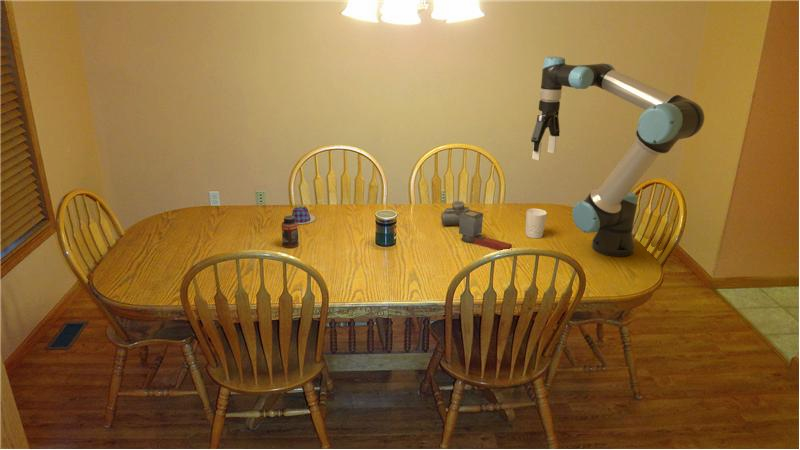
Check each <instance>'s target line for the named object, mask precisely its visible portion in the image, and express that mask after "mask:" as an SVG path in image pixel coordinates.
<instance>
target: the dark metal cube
mask: <svg viewBox="0 0 800 450" xmlns="http://www.w3.org/2000/svg"><path fill="white" fill-rule="evenodd" d="M483 220H484V213H483V212H479V211H476V210H471V209H469V210H467V211H465V212H463V213H461V214H460V223H459V224H458V225H459V226H458V234H460V235H462V234H463V235H466V236H470V237H475V236H477V235H481V234H482V232H483V222H484V221H483Z"/></svg>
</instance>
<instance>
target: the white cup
mask: <svg viewBox="0 0 800 450" xmlns="http://www.w3.org/2000/svg"><path fill="white" fill-rule="evenodd" d="M547 214H548V212H547V211H546V210H544V209H541V208H529V209H528V208H527V210H526V213H525V236H526V237H528V238H530V239H541V238H542V237H543V235H544V231H545V225H546V220H547V216H548V215H547Z"/></svg>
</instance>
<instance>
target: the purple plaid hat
mask: <svg viewBox="0 0 800 450" xmlns="http://www.w3.org/2000/svg"><path fill="white" fill-rule="evenodd" d="M291 216H294V217H295V221H296V222H297V223H298V225H304V224H309V223H312V222H314V221H315V220H316V216H314V215H313V214H310V212H309V209H308V207H305V206H295V207H294V208H293V209H292V213H291Z"/></svg>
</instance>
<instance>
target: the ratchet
mask: <svg viewBox="0 0 800 450" xmlns="http://www.w3.org/2000/svg"><path fill="white" fill-rule="evenodd" d="M461 236H462V237H461V241H462V242H464V243H467V244H474V245H477V246H481V247H485V248H488V249H491V250H495V251H498V250H503V249H510V248H512V249H513V244H512V243H509V242H506V241H501V240H497V239H495V238H492V237H487V236H485V235H482V234H478V235H477V236H475V237H470V236H466V235H463V234H461Z"/></svg>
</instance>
